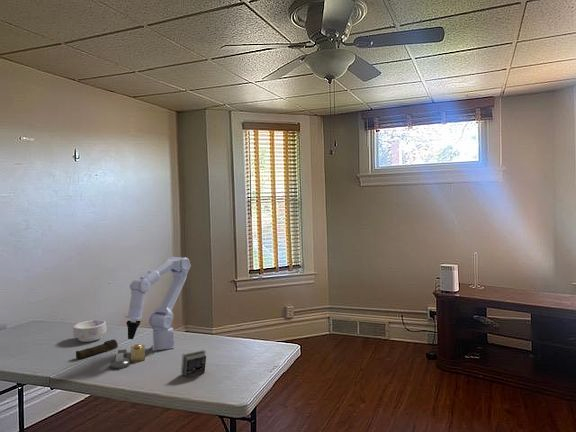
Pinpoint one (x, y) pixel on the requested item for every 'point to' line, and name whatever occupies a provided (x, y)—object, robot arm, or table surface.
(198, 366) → the electrical switch
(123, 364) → the ratchet
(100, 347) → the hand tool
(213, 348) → the table surface
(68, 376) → the table surface
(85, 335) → the white bowl
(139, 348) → the socket
